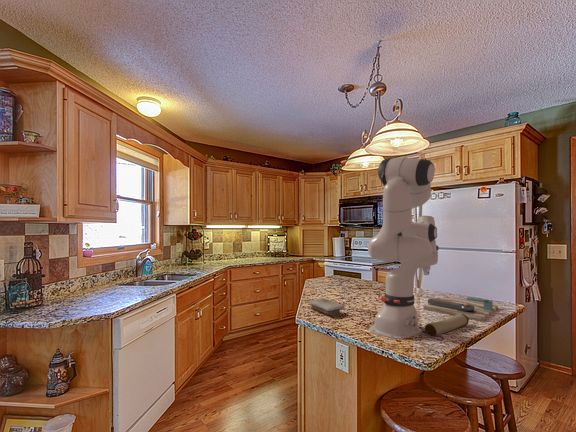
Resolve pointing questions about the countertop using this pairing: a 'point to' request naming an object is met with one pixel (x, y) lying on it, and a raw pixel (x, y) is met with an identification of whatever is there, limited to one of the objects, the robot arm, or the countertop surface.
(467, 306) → the lever
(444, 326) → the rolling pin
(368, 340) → the countertop surface
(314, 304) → the packaged product
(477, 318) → the board
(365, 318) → the countertop surface
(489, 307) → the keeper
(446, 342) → the countertop surface
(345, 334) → the countertop surface
